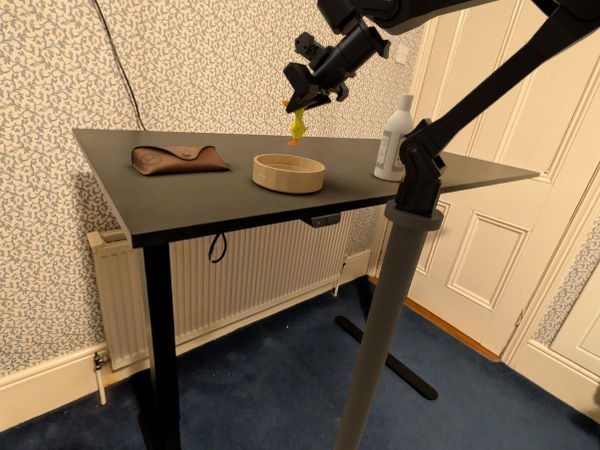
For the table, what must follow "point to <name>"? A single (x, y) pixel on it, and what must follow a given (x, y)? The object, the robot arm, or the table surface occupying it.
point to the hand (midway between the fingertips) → (290, 111)
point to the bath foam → (394, 141)
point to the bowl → (288, 173)
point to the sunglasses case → (176, 159)
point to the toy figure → (297, 125)
